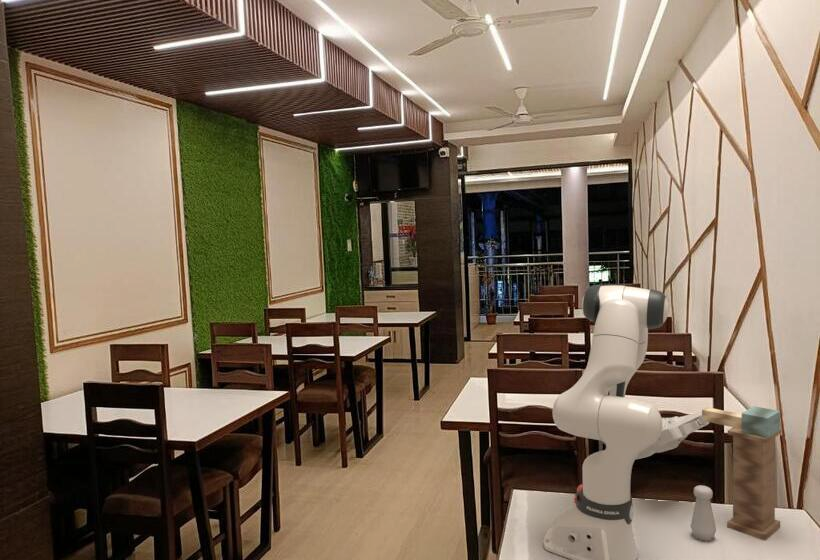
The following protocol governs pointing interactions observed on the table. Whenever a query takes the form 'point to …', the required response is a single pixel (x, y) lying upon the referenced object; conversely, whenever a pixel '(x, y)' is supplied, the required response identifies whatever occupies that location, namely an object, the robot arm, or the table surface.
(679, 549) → the table surface
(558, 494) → the table surface
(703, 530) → the salt shaker
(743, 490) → the pedestal
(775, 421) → the mallet
